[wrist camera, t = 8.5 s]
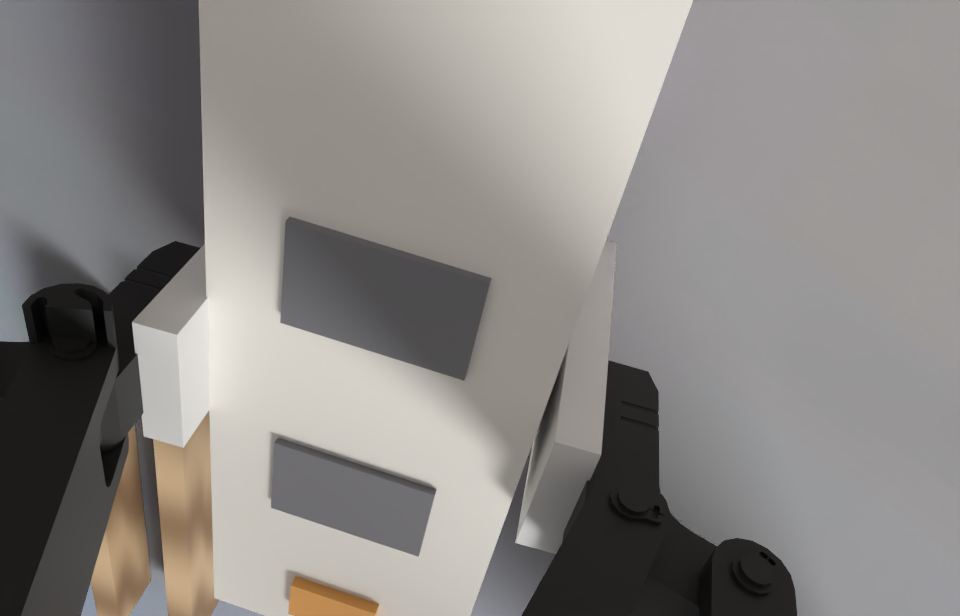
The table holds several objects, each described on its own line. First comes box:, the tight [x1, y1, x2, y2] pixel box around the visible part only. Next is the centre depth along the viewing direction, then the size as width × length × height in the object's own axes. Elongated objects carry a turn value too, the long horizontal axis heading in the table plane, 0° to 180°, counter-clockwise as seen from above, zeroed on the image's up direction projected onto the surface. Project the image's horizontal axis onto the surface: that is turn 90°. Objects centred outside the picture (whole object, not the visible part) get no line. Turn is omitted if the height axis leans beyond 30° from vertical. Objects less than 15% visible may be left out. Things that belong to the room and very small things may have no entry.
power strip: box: [199, 0, 693, 616], centre depth 16 cm, size 16×6×8 cm, turn 168°
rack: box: [91, 411, 219, 616], centre depth 28 cm, size 16×4×2 cm, turn 168°
